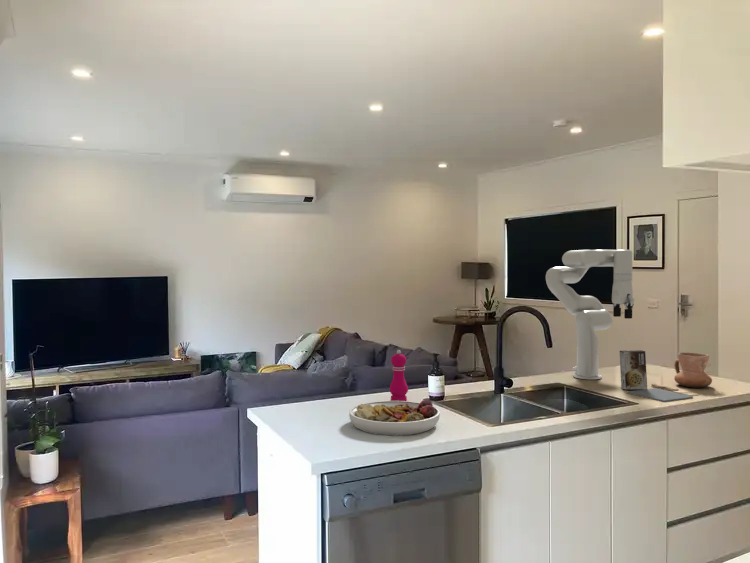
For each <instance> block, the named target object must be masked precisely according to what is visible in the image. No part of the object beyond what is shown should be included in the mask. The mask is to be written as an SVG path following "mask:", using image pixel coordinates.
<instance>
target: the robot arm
mask: <svg viewBox="0 0 750 563" xmlns="http://www.w3.org/2000/svg"><path fill="white" fill-rule="evenodd" d="M561 261H562V263H563V265H564V266H554V267H550V268H549V269H548V270H547V271H546V272H545V273H546V274H545V281H546V285H547V288H548V289H549V291H550V292H551V294H553V295H554V296H555V297H556V298H557V300H559V301H560V303H561V304H562V305H563V307H564V308H565V309H566V310H567V312H568V313H569V314H571V316H574V325H575V330H576V365H575V366H574V367H572V368H571V370H572V371H573V372H574V371H575V373H572V375H573V377H574V378H576V379H581V380H589V381H590V380H591V381H592V380H594V381H595V380H601V379H602V377H603V376H602V375H601V374H599V338H598V335H597V333H596V331H604V330H608V329H609V328H611V327H612V324H613V317H622V316H621V315H622V307H621V306H622V305H623V306H624V310H623V311H624V312H623V313H624V317H623V318H624V319H633V309H634V303H635V299H634V295H633V292H634V291H633V283H632V282H633V251H632V250H631V249H578V250H577V249H576V250H575V249H574V250H572V249H571V250H568V251H566V252H564V253H563V255H562V257H561ZM593 267H596V268H597V267H598V268H599V267H600V268H601V267H603V268H605V267H606V268H607V267H612V268H613V283H612V289H611V290H612V291H611V292H612V293H611V302H612V308H613V310H612V311H613V312H612V314H611V313H610V312H609V311H608V309H607V308H606V307H605V305H604V304H602V302H600V299H598V298H597V297H595V296H593V295H580V294H578V293H577V292H576V291H575V290H574V288H572V287H571V286H569V285H568V284H576V283H578V282H580V281H581V279H582V278H583V277H584V276H585V274H586V273H587V271H588V270H589V269H590V268H593ZM612 316H613V317H612Z"/></svg>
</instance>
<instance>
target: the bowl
mask: <svg viewBox="0 0 750 563" xmlns="http://www.w3.org/2000/svg"><path fill="white" fill-rule="evenodd" d="M348 413H349V414H348V416H349V419H350V422H351V423H352V425H353V426H354V427H356V429H358V430H361V431H363V432H364V433H369V434H372V435H373V434H374V435H380V436H409V435H416V434H417V435H418V434H421V433H425V432H427V431H429V430H431V429H433V428H434V427H435V426H436V425H437V424H438V423H439V421H440V416H441V413H440V410H439V409H438V408H437V407H435V406H433V402H432V401H431V400H430V399H428V398H425V399H423V400H422V401H420V402H417V401H408V400H407V401H391V400H379V401H369V402H364V403H361V404H357V405H355V406H353V407H351V408H350V409H349V412H348Z"/></svg>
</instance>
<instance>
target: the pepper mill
mask: <svg viewBox="0 0 750 563" xmlns="http://www.w3.org/2000/svg"><path fill="white" fill-rule="evenodd" d="M390 363H391V365H392V371H393V377H392V380H391V383H390V386H389V392H390V394H391V396H390V401H408V396H407V393H408V392H409V387H408V383H407V381H406V379H405V370H406V366H405V365H406V363H407V357H406V356H405V355H404V354H402V351H401V350H400V349H397V350H396V353H395V354H393V355H392V356H391V358H390Z"/></svg>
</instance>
